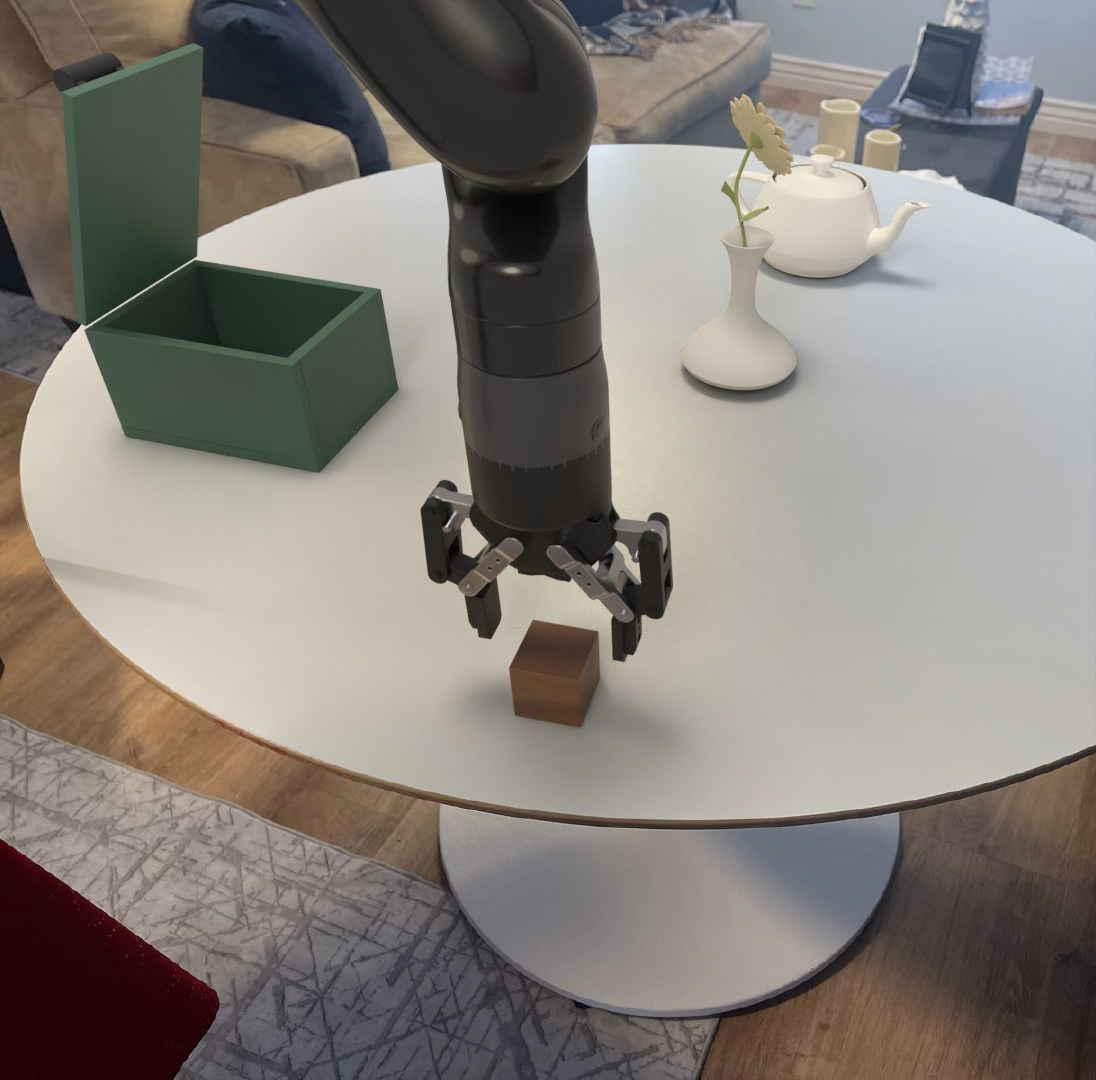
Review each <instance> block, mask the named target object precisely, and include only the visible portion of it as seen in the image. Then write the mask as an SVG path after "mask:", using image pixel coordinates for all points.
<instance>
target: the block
mask: <svg viewBox="0 0 1096 1080" xmlns="http://www.w3.org/2000/svg"><path fill="white" fill-rule="evenodd" d="M599 633H600V632H599V631H598V630H594V629H589V628H583V627H578V626H572V625H565V624H561V623H554V622H549V621H544V620H536V619H532V620H531V622H530V624H529V626H528V628H527V630H526V633H525V635H524V637H523V639H522V641H521V643H520V645H519V647H518V649H517V651H516V653H515V655H514V657H513V659H512V661H511V663H510V665H509V667H508V672H509V673H508V674H509V681H510V688H511V697H512V706H513V712H514V713H513V714H514V716H516V717H520V718H527V719H532V720H536V721H537V720H538V721H543V722H547V723H553V724H559V725H564V726H569V727H573V728H580V729H581V728H582V726H583V723H584V721H585V718H586V716H587V713H588V710H589V708H590V705H591V703H592V701H593V697H594V695H595V693H596V691H597V687H598V686H599V683H600V680H601V664H600V663H601V662H600V661H601V657H600V635H599Z"/></svg>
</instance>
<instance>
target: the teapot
mask: <svg viewBox="0 0 1096 1080" xmlns="http://www.w3.org/2000/svg"><path fill="white" fill-rule="evenodd" d="M834 163H835V158H834V157H833V156H831V155H829V154H823V153H816V154H812V155H810V157H809V161H808V162H793V163H790V164H791V166H789V167H790V169H791V171H792V173H791V174H787V173H786V175H785V176H783V175H781V174H780V175H777V174H775V173H774V172H773V171H772V172H770V174H768V173H765V172H759V171H754V170H749V169H743V171H742V174H741V177H740V180H749V181H753V182H758V183H763V186H762V187H761V189H760V192H759V194H758V195H757V197H756V200H755V201H754V204H753V206H752V208H750V207H749V206H748V204H747V203H746V201H745V199H744V198H743V195H742V193H741V190H740V185H739V184H740V183H739V184H738V201H739V206H740V211H741V215H742V218H743V217H744V216H745V215H747V214H748V213H750V212H753V211H755V210H758V209H761V208H766V207H767V206H768V207H769V209H768V210H766V211H764V212H762V213H761V214H759V215H758V216H756V217H754V218H752V219H750V220H746V222H748V224H747V226H751V227H757V228H761V229H764V230H766V231H768V232H770V233H771V234H773V236H774V237H775V241H774V243H773V244H772V245H771V246H770V247H769V248H768V250H767V251H766V253H765V254H764V256H763V258H762V259H764V260H765V261H766V262H767V264H768V265H770V266H771V267H773V268H775V269H776V270H779V271H781V272H783V273H787V274H790V275H794V276H799V277H804V278H818V279H819V278H820V279H821V278H834V277H840V276H843V275H846V274H849V273H851V272H852V271H854V270H855V269H857V268H858V267H859V266H861V265H862V264H864V263H865V262H867V261H868V260H869V259H870V258H872V257H874V256H878V255H880V254H883V253H885V252H888V251H889V250H890V249H891V248H892V247H893V246H894V245H895V244H896V243H897V242H898V239H899V237H900V236H901V234H902V232H903V230H904V228H905V225H906V224H907V222H908V221H909V219H910V218H911V217H912V216H913V214H915V213H916V212H918V211H920V210H923V209H927V208H930V207H931V204H929V203H926V202H922V201H915V200H910V201H906V202H905V203H903V204H902V205H901V206H899V208H898V209H897V211H896V212H895V214H894V216H893V218H892V219H891V221H890V222H889V224H887V225H886V226H884V227H881V222H880V216H879V211H878V207H877V204H876V200H875V197H874V193H873V190H872V187H871V184H870V181H869V179H868V178H866V176H865V175H863V174H861V172H858V171H856V170H854V169H851V168H848V167H845V166H841V165H837V164H834ZM738 171H739V169H738V170H735V171H733V172H730V173H729V176H728V178H727V181H726V182H727V183H728V185H729V186H730V188H731V189H732V190H733V192H734V185H735V180H736V177H737V174H738ZM729 199H730V200H731V198H730V197H729ZM732 204H733V206H734V207H735V208H736V206H735V205H734V203H733V202H732Z"/></svg>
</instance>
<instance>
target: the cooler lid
mask: <svg viewBox="0 0 1096 1080" xmlns="http://www.w3.org/2000/svg"><path fill="white" fill-rule="evenodd" d="M122 63H123V62H122V61H121V60H120V59H119V58H118V56H116V55H115V53H111V52H109V51H105V52H102V53H100V54H99V53H98V54H96V55H94V56H93V55H92V56H90V57H87V58H84V59H82V60H78V61H75V62H72V63H70V64H67V65H64V66H61V67H58V68H56V69H54V70H53V71H52V74H51V79H52V83H53V85H54V86H55V87H56V89H57V90H58V91H59V92H60V93H61V99H62V100H61V103H62V115H63V131H64V146H65V148H64V149H65V163H66V177H67V178H66V179H67V192H68V193H67V194H68V208H69V209H68V210H69V224H70V239H71V257H72V269H73V285H74V300H75V313H76V314H75V316H76V323H78V324H80V325H82V326H84V327H89V326H90V325H92V323H95V322H97V321H98V320H100V319H101V318H103V317H105V316H106V315H108V314H109V313H111V312H112V311H114V310H116V309H117V308H119V307H120V306H122V305H124V304H125V303H127V302H128V301H130V300H131V299H133V298H135V297H136V296H138V295H139V294H141V293H143V292H144V291H146V290H147V289H149V288H150V287H152V286H154V285H155V284H157V283H158V282H160V281H162V280H163V279H165V278H166V277H168V276H169V275H171V274H173V273H174V272H176V271H177V270H179V269H181V268H182V267H184V266H185V265H187V263H188V264H189V263H190V262H192V261H193V260H195V259H196V258H197V257H198V245H199V243H198V241H199V207H200V179H201V178H200V175H201V174H200V173H201V144H202V143H201V141H202V110H203V109H202V108H203V106H202V104H203V103H202V102H203V98H202V97H203V73H204V71H203V68H204V47H203V46H202V45H199V44H197V43H195V42H193V43H190V44H188V45H185V46H182V47H179V48H176V49H174V50H171V51H169V52H166V53H164V54H161V55H157V56H155V57H152V58H150V59H147V60H145V61H142V62H138V63H135V64H134V65H131V66H128V67H124V66H123V64H122Z"/></svg>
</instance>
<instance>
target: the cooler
mask: <svg viewBox="0 0 1096 1080" xmlns="http://www.w3.org/2000/svg"><path fill="white" fill-rule="evenodd" d="M83 331H84V334H85V336H86V339H87V342H88V344H89V346H90V349H91V351H92V354H93V357H94V359H95V361H96V365H97V367H98V369H99V372H100V375H101V377H102V379H103V382H104V385H105V387H106V390H107V393H108V395H109V398H110V400H111V403H112V405H113V408H114V410H115V413H116V416H117V418H118V421H119V423H120V426H121V429H122V431H123V434H124V436H125V437H128V438H134V439H139V440H145V441H149V442H155V443H159V444H160V443H161V444H165V445H170V446H176V447H181V448H186V449H193V450H197V451H203V452H209V453H213V454H217V455H223V456H230V457H235V458H240V459H245V460H251V461H256V462H262V463H266V464H272V465H277V466H283V467H287V468H294V469H298V470H299V469H300V470H304V471H309V472H314V473H320V472H321V471H322V470H323V469H324V467H325V466H327V465H328V463H329V462H330V461H331V460H332V459H333V458H334V457H335V456H336V455H337V454H338V453H339V452H340V450H342V448H344V446H345V445H346V444H348V443H349V441H350V440H351V439H352V438H354V436H355V435H356V434H357V432H359V431H360V429H361V428H362V427H363V426H365V425H366V423H368V422H369V420H370V419H371V418H372V417H373V416H374V415H375V414H376V413H377V412H378V411H379V410H380V409H381V408H382V407H383V406H384V404H385V403H386V402H388V400H389V399H390V398H391V397H392V396H393V395H394V394H395V393H396V392H397V391H398V390H399V384H398V379H397V378H398V377H397V373H396V367H395V362H394V356H393V351H392V346H391V339H390V334H389V329H388V323H387V317H386V311H385V306H384V299H383V295H382V289H381V288H377V287H370V286H365V285H364V286H363V285H358V284H351V283H346V282H345V283H344V282H339V281H338V282H337V281H332V280H326V279H320V278H313V277H308V276H300V275H294V274H290V273H289V274H288V273H281V272H276V271H270V270H269V271H268V270H262V269H257V268H256V269H255V268H251V267H243V266H238V265H230V264H225V263H220V262H219V263H218V262H212V261H205V260H199V259H193V260H191V261H190V262H188V264H187V263H186V264H185V265H183V266H181V267H180V268H178V269H177V270H175V271H173V272H172V273H170V274H169V275H167V276H166V277H164V278H162V279H161V280H159V281H158V282H156V283H155V284H153V285H151V286H150V287H148V288H147V289H145V290H143V291H142V292H140V293H139V294H137V295H136V296H134V297H132V298H131V299H129V300H128V301H126V302H125V303H123V304H121V305H120V306H118V307H117V308H115V309H113V310H112V311H110V312H109V313H107V314H106V315H104V316H102V317H101V318H99V319H98V320H96V321H95V322H93V324H90V325H89V326H87V327H86V328H85V329H84V330H83Z"/></svg>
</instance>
